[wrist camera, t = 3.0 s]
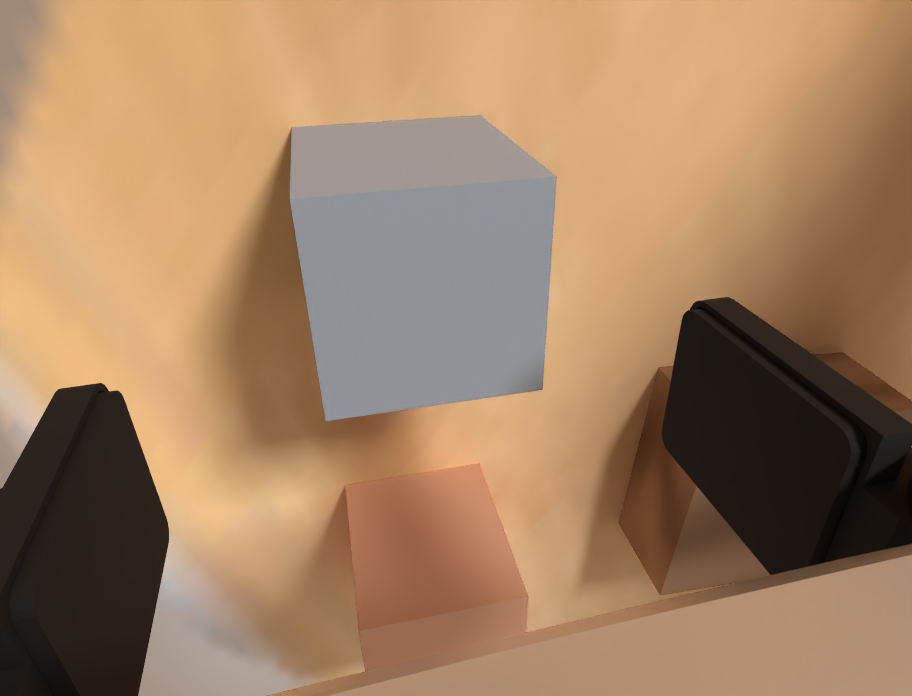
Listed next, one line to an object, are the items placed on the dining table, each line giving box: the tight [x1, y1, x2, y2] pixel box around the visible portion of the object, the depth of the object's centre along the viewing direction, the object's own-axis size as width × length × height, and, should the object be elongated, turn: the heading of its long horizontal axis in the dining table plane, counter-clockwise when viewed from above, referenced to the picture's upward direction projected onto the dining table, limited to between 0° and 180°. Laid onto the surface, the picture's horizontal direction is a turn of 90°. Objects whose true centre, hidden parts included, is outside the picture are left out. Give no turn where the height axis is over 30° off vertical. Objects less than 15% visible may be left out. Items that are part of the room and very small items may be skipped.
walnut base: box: [619, 353, 912, 595], centre depth 24 cm, size 8×8×4 cm
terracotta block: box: [345, 464, 528, 672], centre depth 22 cm, size 5×5×6 cm
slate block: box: [290, 115, 557, 421], centre depth 15 cm, size 5×5×6 cm
